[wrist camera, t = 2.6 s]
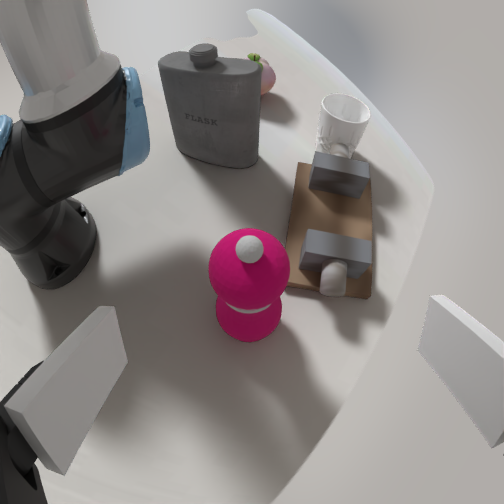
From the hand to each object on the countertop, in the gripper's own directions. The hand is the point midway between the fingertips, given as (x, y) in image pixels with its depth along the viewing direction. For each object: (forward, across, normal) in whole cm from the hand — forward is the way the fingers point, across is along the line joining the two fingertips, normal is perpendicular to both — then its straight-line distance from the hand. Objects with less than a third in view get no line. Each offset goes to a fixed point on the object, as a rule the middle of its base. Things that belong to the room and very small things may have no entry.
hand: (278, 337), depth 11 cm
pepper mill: (+23, -2, -11) cm, 26 cm away
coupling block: (+32, +10, -2) cm, 33 cm away
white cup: (+42, +13, +10) cm, 45 cm away
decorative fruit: (+52, 0, +23) cm, 57 cm away
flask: (+41, -7, +10) cm, 43 cm away
